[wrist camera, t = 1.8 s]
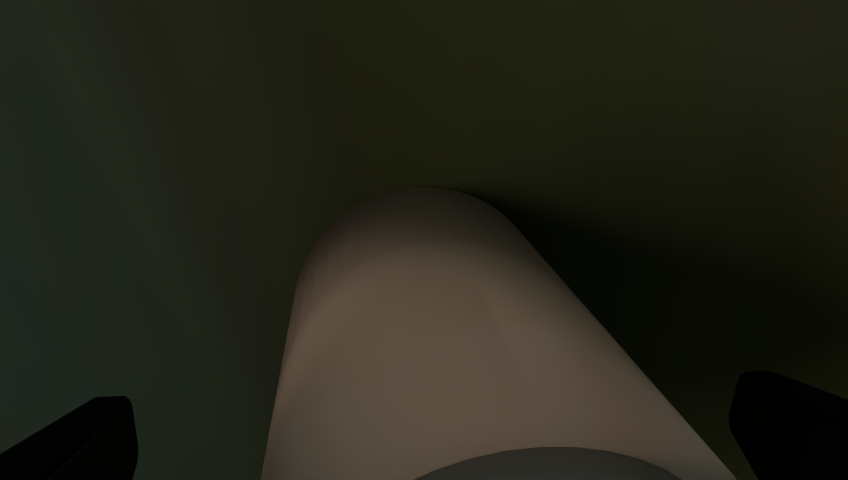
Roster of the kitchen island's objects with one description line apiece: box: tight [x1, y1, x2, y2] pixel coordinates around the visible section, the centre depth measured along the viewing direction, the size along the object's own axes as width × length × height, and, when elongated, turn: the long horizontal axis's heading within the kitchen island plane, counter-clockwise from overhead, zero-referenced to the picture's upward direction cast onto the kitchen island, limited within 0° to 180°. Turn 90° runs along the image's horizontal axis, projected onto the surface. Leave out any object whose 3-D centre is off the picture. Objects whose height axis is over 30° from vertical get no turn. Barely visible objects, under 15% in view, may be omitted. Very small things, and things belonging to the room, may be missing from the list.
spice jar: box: [261, 187, 737, 480], centre depth 8 cm, size 5×5×8 cm
